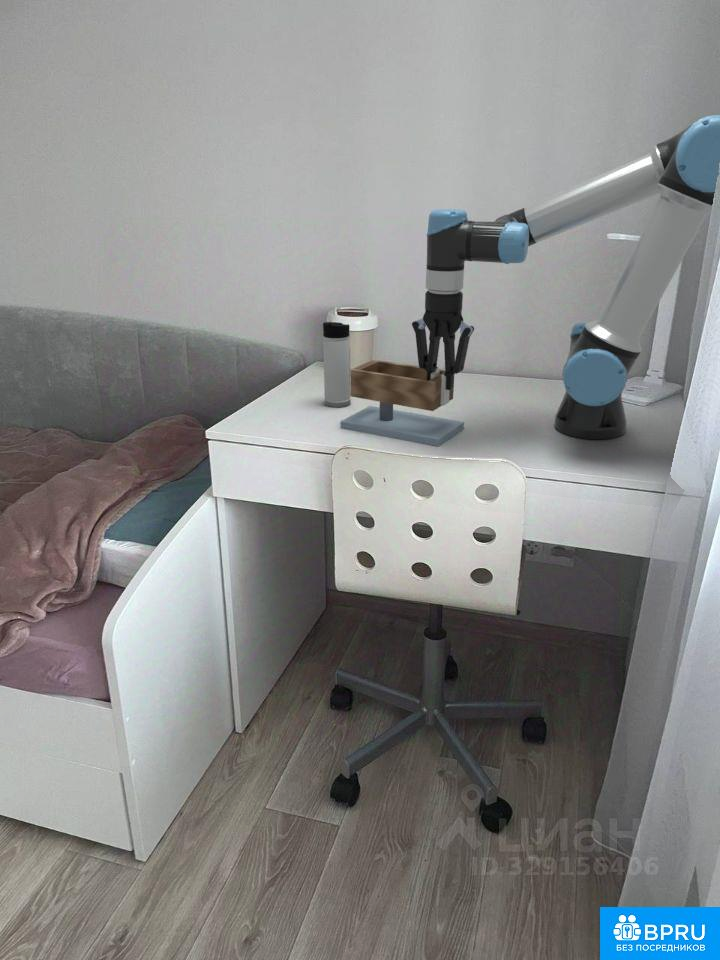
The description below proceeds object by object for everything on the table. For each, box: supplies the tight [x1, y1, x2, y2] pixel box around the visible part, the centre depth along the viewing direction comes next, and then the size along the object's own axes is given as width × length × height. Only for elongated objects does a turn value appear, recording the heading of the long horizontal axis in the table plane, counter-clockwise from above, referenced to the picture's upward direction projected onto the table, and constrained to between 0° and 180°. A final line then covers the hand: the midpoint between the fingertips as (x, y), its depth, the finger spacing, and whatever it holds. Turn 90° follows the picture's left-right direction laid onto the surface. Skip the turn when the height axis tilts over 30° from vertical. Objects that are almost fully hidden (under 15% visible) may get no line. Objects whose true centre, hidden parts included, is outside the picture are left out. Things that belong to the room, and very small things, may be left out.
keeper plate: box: [340, 402, 465, 447], centre depth 173 cm, size 24×13×12 cm, turn 59°
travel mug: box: [322, 321, 352, 408], centre depth 188 cm, size 6×7×20 cm
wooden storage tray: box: [350, 359, 455, 412], centre depth 172 cm, size 20×10×6 cm, turn 59°
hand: (439, 402), depth 169 cm, fingers closed on wooden storage tray, 2 cm apart
